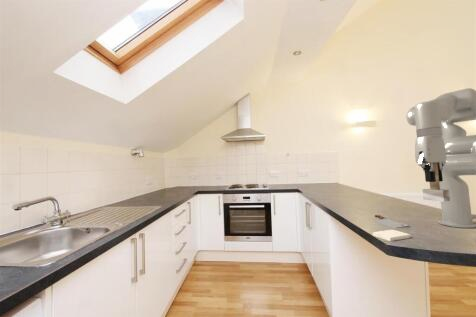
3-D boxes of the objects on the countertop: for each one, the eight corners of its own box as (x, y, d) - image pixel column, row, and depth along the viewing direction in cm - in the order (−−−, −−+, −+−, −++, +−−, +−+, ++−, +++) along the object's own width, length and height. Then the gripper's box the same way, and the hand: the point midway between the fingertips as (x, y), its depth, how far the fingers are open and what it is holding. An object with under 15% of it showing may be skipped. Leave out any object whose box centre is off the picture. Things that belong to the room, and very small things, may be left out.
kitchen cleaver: (363, 215, 124) (381, 214, 123) (363, 217, 124) (382, 216, 123) (387, 227, 100) (411, 225, 99) (387, 230, 100) (411, 228, 99)
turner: (429, 198, 88) (425, 158, 89) (449, 200, 81) (445, 157, 82) (423, 199, 87) (419, 158, 88) (443, 201, 80) (439, 157, 81)
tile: (391, 229, 94) (372, 232, 91) (410, 234, 86) (390, 237, 84) (392, 233, 94) (372, 236, 91) (410, 238, 86) (390, 242, 84)
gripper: (434, 135, 91) (438, 180, 90) (403, 135, 87) (407, 182, 86) (455, 132, 84) (461, 180, 83) (423, 132, 80) (428, 183, 79)
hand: (434, 181), depth 84 cm, fingers closed on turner, 2 cm apart
